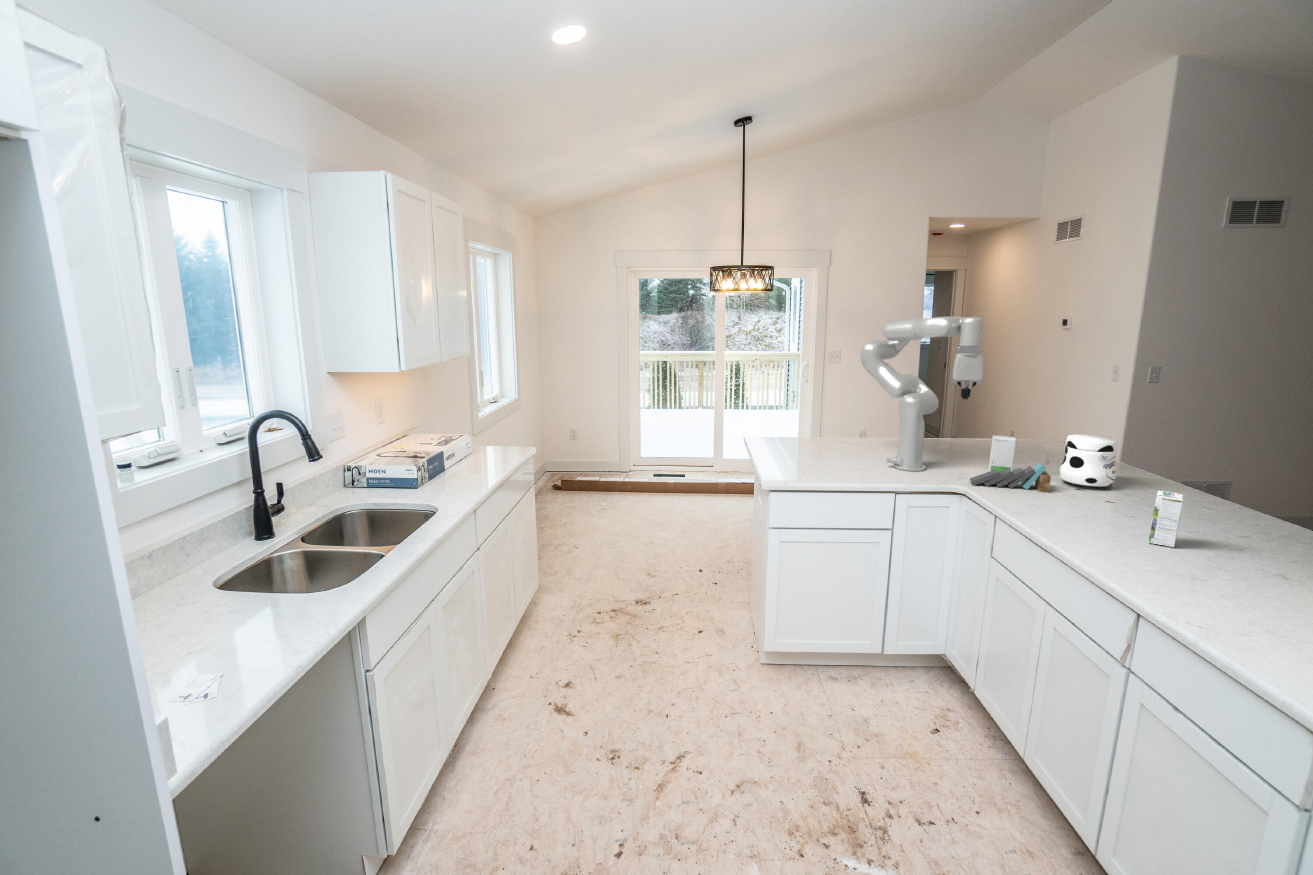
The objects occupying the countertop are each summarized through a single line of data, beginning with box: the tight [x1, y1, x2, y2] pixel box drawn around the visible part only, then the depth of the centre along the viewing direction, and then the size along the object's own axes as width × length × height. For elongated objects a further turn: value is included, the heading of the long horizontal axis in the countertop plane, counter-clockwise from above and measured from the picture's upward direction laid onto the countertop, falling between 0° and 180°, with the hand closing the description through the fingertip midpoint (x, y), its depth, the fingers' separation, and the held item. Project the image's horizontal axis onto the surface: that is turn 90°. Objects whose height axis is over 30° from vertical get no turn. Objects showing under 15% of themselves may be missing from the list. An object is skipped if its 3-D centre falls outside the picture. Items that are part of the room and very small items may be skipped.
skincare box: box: [987, 435, 1017, 472], centre depth 243 cm, size 8×7×16 cm
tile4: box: [1006, 466, 1036, 489], centre depth 227 cm, size 2×5×10 cm
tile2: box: [983, 468, 1013, 487], centre depth 229 cm, size 2×5×10 cm
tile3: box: [995, 467, 1025, 488], centre depth 228 cm, size 2×5×10 cm
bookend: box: [1034, 470, 1052, 494], centre depth 224 cm, size 3×8×6 cm, turn 160°
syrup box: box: [1148, 490, 1184, 548], centre depth 171 cm, size 6×6×14 cm
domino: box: [1020, 462, 1047, 490], centre depth 225 cm, size 2×5×10 cm
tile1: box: [969, 469, 1001, 486], centre depth 231 cm, size 2×5×10 cm
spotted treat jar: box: [1059, 433, 1118, 489], centre depth 228 cm, size 17×17×18 cm
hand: (965, 398), depth 234 cm, fingers closed
